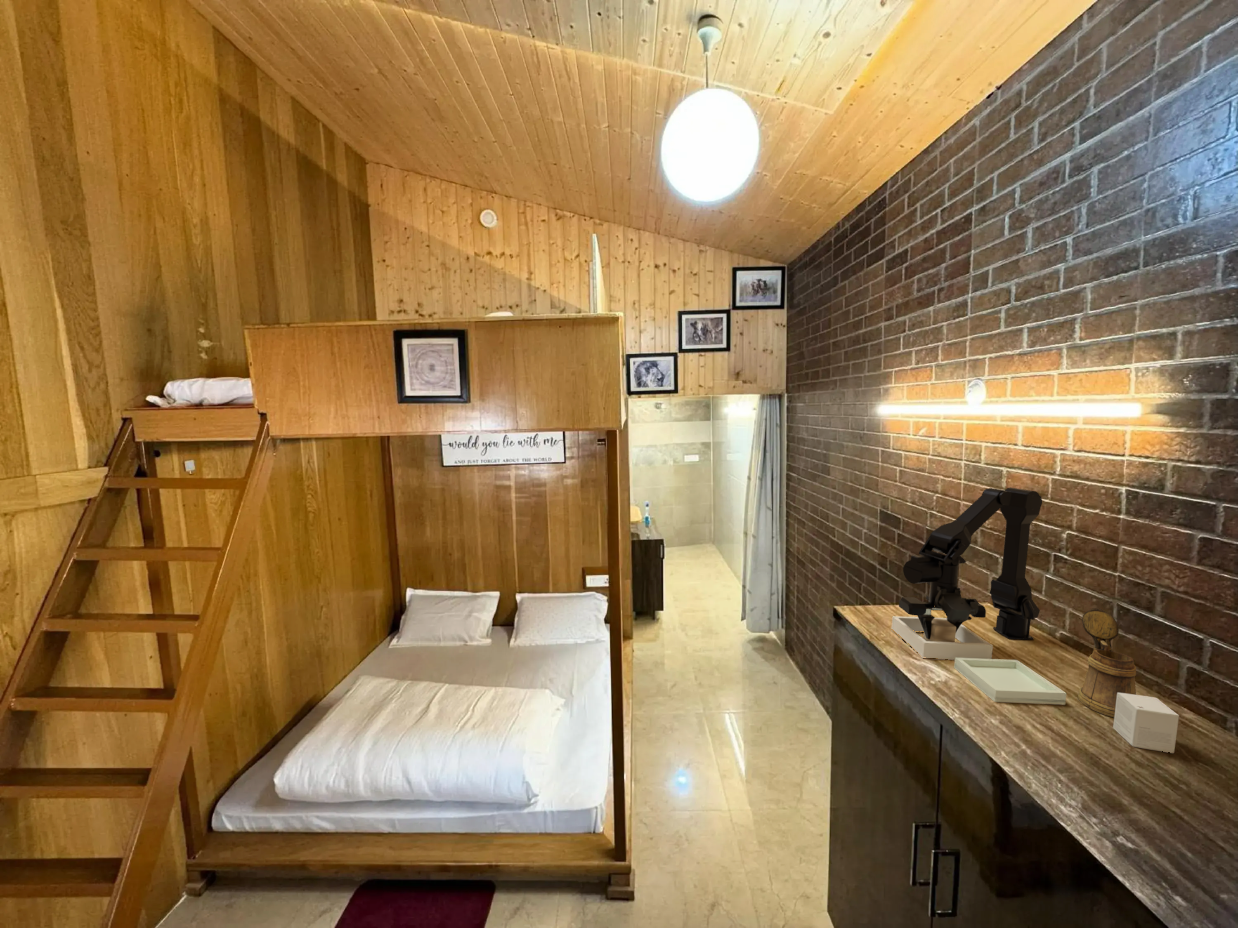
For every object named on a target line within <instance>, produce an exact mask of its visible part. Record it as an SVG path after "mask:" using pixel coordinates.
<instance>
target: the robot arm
mask: <svg viewBox="0 0 1238 928" xmlns="http://www.w3.org/2000/svg"><path fill="white" fill-rule="evenodd" d="M1042 505H1043V498H1042V495H1040V494H1039V492H1037V491H1035V490H1028V489H1023V488H1017V487H1007V488H1006V489H1000V488H999V489H998V488H993V487H989V488H985V489H984V490H983V491H982V493H981V496H979V497H978V498H977V499H976V500H975V501H974V502H973V503H972V504H971V505H970V506H969V507H968V508H966V509H965V510H964V511H963V512H961V514H960V515H959V516H958V517H957V518H956V519H955V520H953V521H951V522H948V523H945V524H943V525H942V524H941V525H940V526H939V527H937V528H936V529H934V530H933V531H932V532H931V533H930V534H929V537H928V538H927V540H926V541H925V543H924V544H923V545H922V547H921V548H920V550H919V551H918V555H916V554H915V555H914V554H913V555H911V556H910V559H908V560H907V561H906V562H905V563H904V565H903V568H902V572H903V575H904V577H905V579H906V580H907V582H909V583H911V584H917V585H918V584H925V583H926V584H927V585H929V594H927V595H926V597H925V600H927V601H921V600H920V599H918V598H917V597H913V596H911V597H910V596H902V597H901V598H899V600H898V607H899V608H900V609H902V611H904V612H905V613H906V614H908V615H911V616H916V617H918V618H919V620H920V622H921V625H922V628H923V630H924V633H925V636H926V638H927V639H930V637H931V624H932V620H933V619H934V618H936V617H935V616H934V615H932V611H940V612H941V611H943V613H944V614H945V616H946V618H947V621H948V622H950V623H951V624H953V625H954V626H956V632H957V630H958V628H959V627H960V625H961V624H962V625H963V623H964V622H967V621H971V620H973V618H983V619H984V618H986V615H987V614H986V613H987V609H986V608H985V606H984V605H983V604H981V603H979V601H978V600H977V599H976V598H967V597H962V593H961V591H962V590H961V587H959V586H958V579H959V578H958V577H959V569H960V568H959V567H960V564H965V563H967V560H966V559H964V557H962V555H963V554H964V553H965V552H966V551H967V549H968V548H969V547H970V545H971V543H972V542H971V541H972V537H973V535H974V533H976V531H978V530H979V529H981V527H982V526H983V525H984V524H985V523H986V522H987V521H989V519H990V518H992V517H993V516H994V515H995V514H996V513H997V512H998V511H999V510H1000V512H1001V514H1002V516H1003V518H1004V520H1005V532H1004V541H1003V543H1004V544H1003V553H1002V554H1003V555H1002V565H1001V574H1000V575H999V576H998V577H997V578H995V579H992V580H991V581H990V590H989V594H990V598H991V601H992V607H993V608H995V609H998V615H997V616H996V623H995V626H993V627H992V629H993V630H994V631H996V632H997V633H998V634H1000V635H1002V636H1003V637H1005V638H1007V639H1009V640H1029V641H1030V640H1031V641H1032V640H1033V641H1034V636H1031V635H1030V629H1031V620H1033V621H1034V620H1035V619H1037V618H1039V615H1040V613H1041V609H1039V607H1038V606H1037V604H1036V603H1035V602H1034V600H1033V598H1032V597H1033V595H1032V588H1031V586H1030V584H1029V583H1028V581H1027V579H1026V570H1027V559H1028V551H1029V540H1030V539H1029V538H1030V531H1031V530H1030V529H1031V523H1032V522H1034V521H1035V519H1036V518H1037V517H1039V515H1040V512H1041V507H1042ZM924 633H923V634H924Z"/></svg>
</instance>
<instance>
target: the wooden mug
mask: <svg viewBox="0 0 1238 928" xmlns="http://www.w3.org/2000/svg"><path fill="white" fill-rule="evenodd" d="M1081 621H1082V627H1083V630H1084V631H1085V632H1086V633H1087V634H1088V636H1090V637H1092V639H1093V644H1094V645H1093V650H1092V654H1090V655H1089V657H1088V658H1087V661H1086V663H1087V664H1088V667H1087V671H1086V673H1085V677H1084V681H1083V683H1082V686H1081V687H1080V688H1079V690H1078V696H1077V699H1078V700H1079V701H1080V702H1081V704H1082V705H1084V706H1085V707H1087V708H1089V709H1091V710H1092V711H1095V712H1097V713H1099V714H1101V715H1105V716H1107V717H1110V718H1114V717H1115V708H1116V698H1117V693H1126V694H1133V695H1137V689H1136V688H1137V687H1136V677H1135V676H1136V675H1137V666H1136V664H1135V661H1134V658H1133V657H1132V656H1130V655H1127V654H1124V653H1121V652H1117V651H1114V650H1113V647H1112V643H1111V641H1112V640H1114V639H1116V637H1118V636H1119V624H1118V622H1117V620H1116V619H1115V617H1113V616H1112V615H1111V614H1110V613H1108V612H1107V611H1106V610H1105V609H1102V608H1100V607H1097V606H1096V607H1094V608H1091V609H1089V610H1087V611H1086V612H1084V613H1083V614H1082V619H1081Z"/></svg>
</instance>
